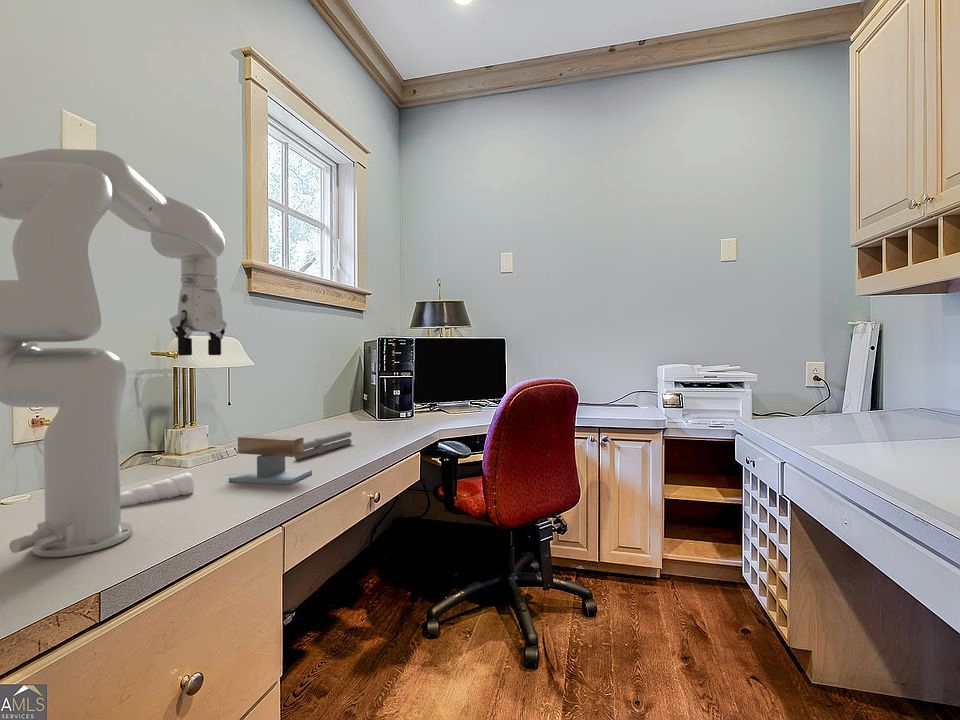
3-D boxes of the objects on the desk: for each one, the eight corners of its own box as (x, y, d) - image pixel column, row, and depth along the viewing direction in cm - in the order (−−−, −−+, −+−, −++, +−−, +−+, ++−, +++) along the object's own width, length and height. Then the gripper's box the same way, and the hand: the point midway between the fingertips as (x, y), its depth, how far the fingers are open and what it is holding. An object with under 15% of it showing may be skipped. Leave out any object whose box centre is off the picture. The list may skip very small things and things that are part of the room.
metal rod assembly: (345, 444, 163) (345, 430, 163) (352, 445, 162) (352, 430, 162) (292, 461, 138) (292, 443, 138) (300, 461, 137) (299, 444, 137)
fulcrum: (290, 484, 113) (289, 458, 112) (228, 481, 115) (228, 456, 115) (312, 473, 122) (311, 450, 122) (254, 471, 125) (254, 448, 125)
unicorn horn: (48, 515, 92) (48, 490, 92) (190, 491, 109) (189, 470, 108) (49, 522, 89) (48, 496, 89) (195, 496, 105) (195, 474, 105)
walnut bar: (293, 457, 114) (292, 440, 114) (237, 453, 119) (237, 437, 119) (303, 453, 118) (303, 437, 118) (249, 450, 123) (249, 434, 123)
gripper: (185, 279, 108) (186, 355, 108) (237, 289, 125) (238, 355, 125) (156, 279, 109) (157, 355, 109) (211, 289, 126) (212, 355, 126)
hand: (200, 355), depth 117 cm, fingers open, 9 cm apart
